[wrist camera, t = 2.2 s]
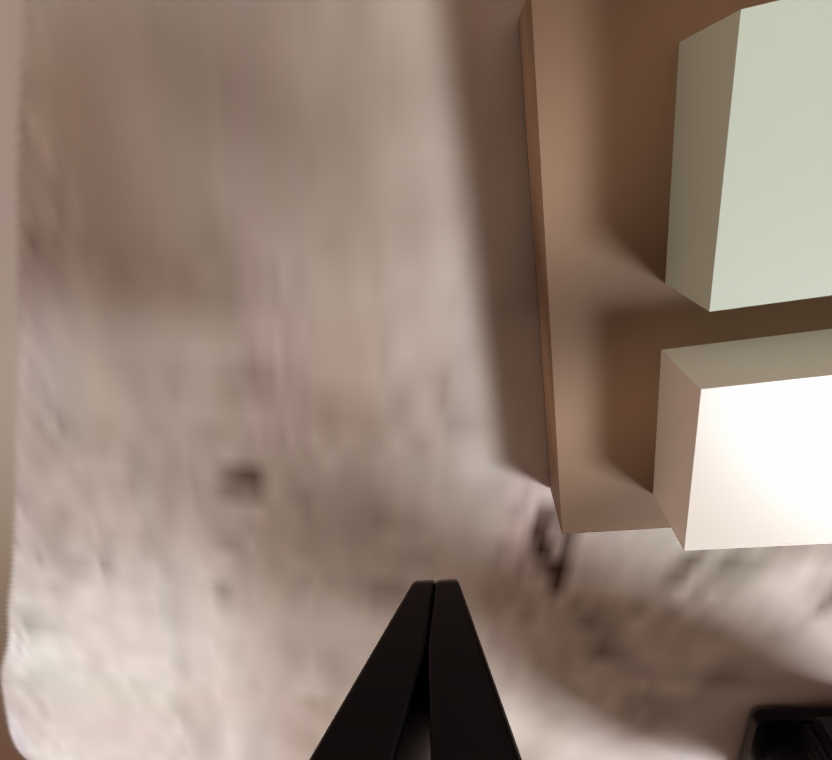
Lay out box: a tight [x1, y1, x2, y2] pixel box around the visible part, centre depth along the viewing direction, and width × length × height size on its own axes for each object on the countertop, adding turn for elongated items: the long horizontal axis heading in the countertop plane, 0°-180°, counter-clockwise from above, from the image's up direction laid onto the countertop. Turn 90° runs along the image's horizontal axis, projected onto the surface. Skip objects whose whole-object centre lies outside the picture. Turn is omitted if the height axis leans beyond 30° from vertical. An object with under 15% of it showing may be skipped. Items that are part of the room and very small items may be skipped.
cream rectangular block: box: [653, 329, 832, 551], centre depth 10 cm, size 4×6×2 cm
